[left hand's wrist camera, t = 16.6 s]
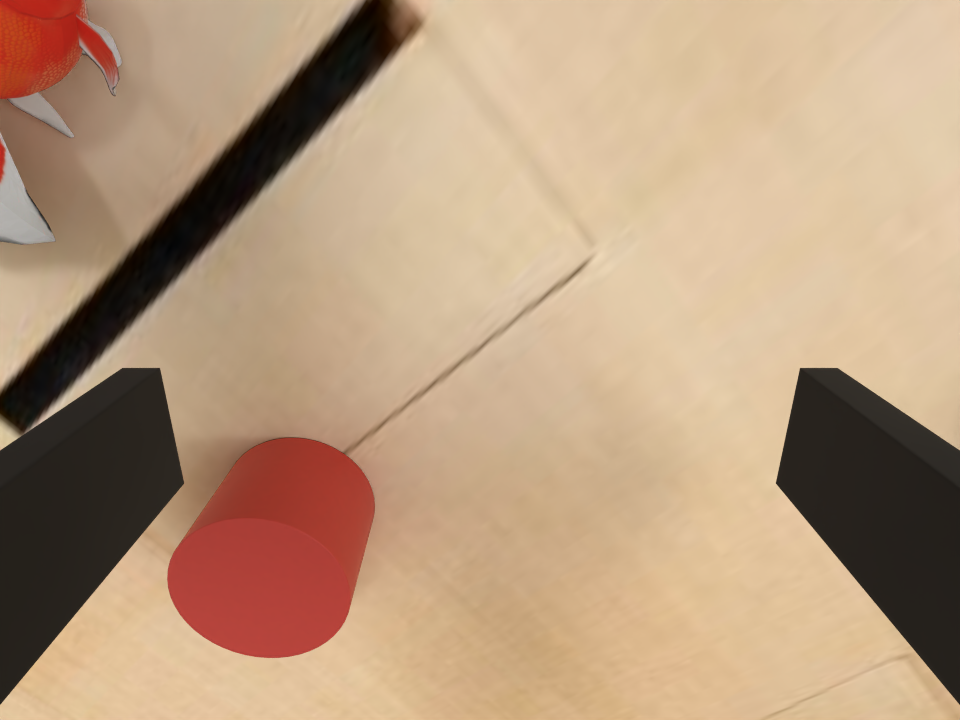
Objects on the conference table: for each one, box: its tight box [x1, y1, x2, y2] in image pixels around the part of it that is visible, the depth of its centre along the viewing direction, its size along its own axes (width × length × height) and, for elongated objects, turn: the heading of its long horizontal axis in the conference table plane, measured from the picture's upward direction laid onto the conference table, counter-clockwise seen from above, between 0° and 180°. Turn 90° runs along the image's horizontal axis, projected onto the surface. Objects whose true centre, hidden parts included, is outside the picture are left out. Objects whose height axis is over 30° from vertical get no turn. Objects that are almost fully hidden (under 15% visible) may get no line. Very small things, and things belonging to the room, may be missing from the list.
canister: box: [167, 438, 375, 658], centre depth 33 cm, size 9×9×7 cm
